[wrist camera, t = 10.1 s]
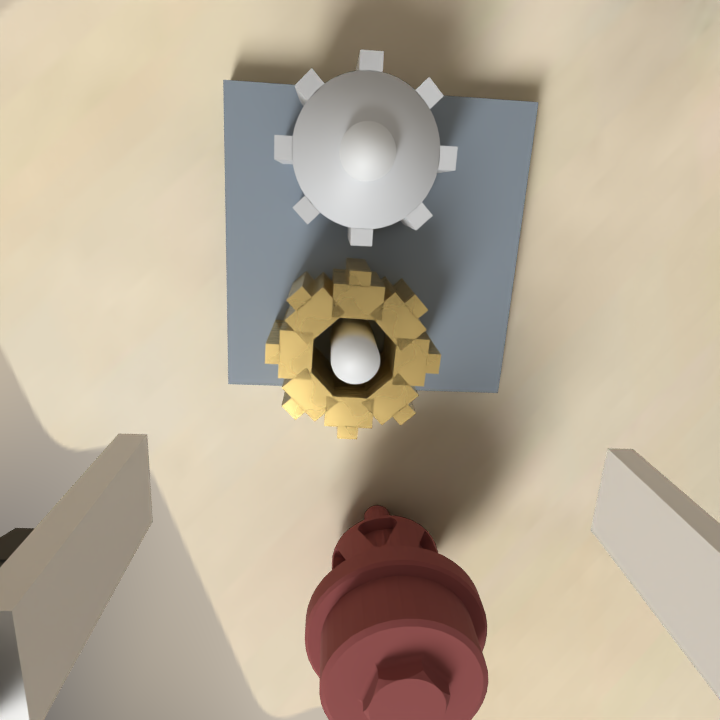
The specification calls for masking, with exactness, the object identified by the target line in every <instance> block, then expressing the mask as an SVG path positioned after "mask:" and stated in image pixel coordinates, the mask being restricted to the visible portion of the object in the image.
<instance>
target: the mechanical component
mask: <svg viewBox="0 0 720 720" xmlns="http://www.w3.org/2000/svg"><path fill="white" fill-rule="evenodd" d="M486 636H487V620H486V614H485V611H484V608H483V605H482V602H481V600H480V597H479V594H478V592H477V589H476V587H475V585H474V583H473V582H472V580H471V579H470V577H469V576H468V575H467V574H466V573H465V571H464V570H463V569H462V568H461V567H459V566H458V565H457V564H456V563H454V562H453V561H452V560H450V559H448V558H446V557H445V556H443V555H441V554H438V551H437V547H436V544H435V542H434V540H433V538H432V537H431V535H430V534H429V533H428V532H427V530H426V529H424V528H423V527H422V526H421V525H419V524H418V523H416V522H414V521H412V520H410V519H407V518H404V517H399V516H390V515H389V512H388V510H387V509H386V508H384V507H383V506H379V505H377V506H372V507H370V508H369V509H368V510H367V511H366V512H365V516H364V520H363V521H361V522H359V523H357V524H356V525H354V526H352V527H351V528H350V529H349V530H348V531H346V532H345V533H344V534H343V536H342V537H341V538H340V540H339V541H338V543H337V545H336V547H335V549H334V553H333V557H332V571H331V572H329V573H328V574H327V575H326V576H325V577H324V578H323V580H322V581H321V582H320V584H319V585H318V586H317V588H316V590H315V591H314V593H313V595H312V597H311V600H310V602H309V605H308V609H307V614H306V627H305V646H306V652H307V655H308V659H309V661H310V663H311V665H312V667H313V669H314V671H315V672H316V674H317V675H318V676H319V678H320V699H321V704H322V707H323V710H324V712H325V714H326V715H327V717H328V719H329V720H471V719H472V718H473V717H474V715H475V714H476V713H477V712H478V710H479V708H480V707H481V705H482V703H483V701H484V698H485V695H486V692H487V687H488V670H487V666H486V662H485V659H484V656H483V653H482V651H483V648H484V646H485V641H486Z"/></svg>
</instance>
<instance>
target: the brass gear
mask: <svg viewBox="0 0 720 720" xmlns="http://www.w3.org/2000/svg"><path fill="white" fill-rule="evenodd" d="M286 301H287V302H288V303H289V304H290V306H289V308H287V311H286V314H285V317H284V320H275V322H274V324H273V327H272V329H271V332H270V334H269V336H268V339H267V341H266V346H265V364H279V365H278V378H284V381H283V385H282V389H283V390H284V391H285V393H284V398H283V403H282V407H283V408H284V409H285V410H286V411H287V412H288V413H289V414H290V415H291V416H292V417H293V418H294V419H295V420H296V419H297V418H298V417H300V416H301V415H302V414H303V413H305V412H306V413H307V414H308V415H309V416H310V417H311V418H312V419H313V420H314V421H316V420H317V419H318V418H320V417H321V416H322V415H323V414H325V416H324V426H336V427H337V438H341V439H357V433H358V428H372V421H373V416H374V417H375V418H376V419H377V420H378V421H379V423H380V424H381V425H383V424H384V423H385V422H386V421H388V420H389V419H390V418H391V417H393V418H394V419H395V420H396V421H397V422H398V423H399V424H400V425H402V424H403V423H404V422H406V421H407V420H408V419H409V418H411V417H412V416H413V415H415V414H416V412H415V409H414V407H413V404H412V402H411V401H413V400H414V399H415V398H416V397H418V396H419V395H418V393H417V390H416V388H415V386H423V387H424V383H425V375H426V373H430V374H439V367H440V360H441V354H440V352H439V351H438V349H437V348H436V346H435V345H434V343H433V342H432V340H431V339H430V338H429V336H428V335H427V333H426V332H425V331H426V330H427V329H426V328H425V327H424V325H423V324H422V322H421V321H420V319H419V318H420V317H421V316H422V315H423V314H424V313H426V312H427V311H428V309H427V308H426V307H425V305H424V304H423V303H422V302H421V301H420V299H419V298H418V297H417V296H416V295H415V293H414V292H413V291H412V290H411V289H410V287H409V286H408V285H407V284H406V282H405V281H404V280H403V279H402V278H401V279H400V280H399V281H398V282H396V283H395V284H394V285H392V284H391V283H390V282H389V281H388V279H387V278H386V277H385V276H384V277H383V278H382V279H380V277H379V276H378V274H377V272H373V271H371V270H370V268H369V266H368V264H367V262H366V261H365V259H358V258H347V259H346V269H333V277H332V280H331V279H330V278H329V277H328V276H327V275H326V274H325V272H323V273H322V274H321V275H319V276H318V277H317V278H316V279H315V280H314V279H313V278H312V277H311V276H310V275H309V273H308V272H307V271H306V272H305V273H303V274H302V275H301V276H300V277H299V278H298V279H297V280H296V281H294V282H293V284H292V286H291V289H290V292H289V294H288V297H287V300H286ZM339 318H351V319H366V320H375V321H376V323H377V324H378V325H379V326H380V327H381V328H382V329H383V331H384V332H385V335H384V345H383V350H382V351H380V352H379V355H380V366H379V369H378V371H377V373H376V374H375V375H374V376H373V377H372V378H371V379H370V380H368V381H367V382H364V383H361V384H349V383H346V382H344V381H342V380H340V379H339V378H338V377H337V376H336V375H335V373H334V372H333V369H332V366H331V363H330V362H329V361H328V359H327V358H326V357H325V356H324V355H323V354H322V353H321V352H320V351H319V350H318V349H317V348H316V346H315V345H314V339H315V338H316V337H317V336H319V335H320V334H321V333H322V332H323V331H324V330H326V329H327V328H328V327H329V326H330V325H332V324H333V323H334V322H335V321H336V320H337V319H339Z"/></svg>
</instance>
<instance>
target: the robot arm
mask: <svg viewBox="0 0 720 720" xmlns="http://www.w3.org/2000/svg"><path fill="white" fill-rule="evenodd" d="M152 522H153V517H152V502H151V486H150V470H149V455H148V439H147V435H145V434H118V435H117V436H116V437H115V439H114V440H113V441H112V442H111V443H110V444H109V445H108V446H107V448H106V449H105V450H104V451H103V452H102V453H101V455H100V456H99V457H98V458H97V459H96V460H95V461H94V462H93V463H92V465H91V466H90V467H89V468H88V469H87V470H86V471H85V473H84V474H83V475H82V476H81V477H80V478H79V479H78V480H77V482H76V483H75V484H74V485H73V486H72V487H71V488H70V489H69V490H68V492H67V493H66V494H65V495H64V496H63V497H62V498H61V499H60V501H59V502H58V503H57V504H56V505H55V506H54V507H53V509H52V510H51V511H50V512H49V513H48V514H47V515H46V516H45V517H44V519H43V520H42V521H41V522H40V523H39V524H38V525H37V526H36V528H32V529H31V528H15V529H13V530H12V531H10V532H8V533H7V534H5V535H3V536H2V537H0V720H44V719H45V717H46V715H47V713H48V711H49V709H50V708H51V706H52V704H53V702H54V700H55V699H56V697H57V695H58V693H59V691H60V689H61V688H62V686H63V684H64V682H65V680H66V678H67V677H68V675H69V673H70V671H71V669H72V668H73V666H74V664H75V662H76V660H77V658H78V657H79V655H80V653H81V651H82V649H83V647H84V646H85V644H86V642H87V640H88V638H89V637H90V635H91V633H92V631H93V629H94V627H95V626H96V624H97V622H98V620H99V618H100V616H101V615H102V613H103V611H104V609H105V607H106V605H107V604H108V602H109V600H110V598H111V596H112V595H113V593H114V591H115V589H116V587H117V585H118V584H119V582H120V580H121V578H122V576H123V574H124V573H125V571H126V569H127V567H128V565H129V564H130V562H131V560H132V558H133V556H134V554H135V553H136V551H137V549H138V547H139V545H140V543H141V542H142V540H143V538H144V536H145V534H146V533H147V531H148V529H149V527H150V525H151V523H152ZM591 531H592V533H593V534H594V535H595V537H596V538H597V539H598V541H599V542H600V543H601V544H602V546H603V547H604V548H605V550H606V551H607V552H608V554H609V555H610V556H611V558H612V559H613V560H614V562H615V563H616V564H617V566H618V567H619V568H620V569H621V571H622V572H623V573H624V575H625V576H626V577H627V579H628V580H629V581H630V583H631V584H632V585H633V587H634V588H635V589H636V590H637V592H638V593H639V594H640V596H641V597H642V598H643V600H644V601H645V602H646V604H647V605H648V606H649V608H650V609H651V610H652V612H653V613H654V614H655V615H656V617H657V618H658V619H659V621H660V622H661V623H662V625H663V626H664V627H665V629H666V630H667V631H668V633H669V634H670V635H671V636H672V638H673V639H674V640H675V642H676V643H677V644H678V646H679V647H680V648H681V650H682V651H683V652H684V654H685V655H686V656H687V658H688V659H689V660H690V661H691V663H692V664H693V665H694V667H695V668H696V669H697V671H698V672H699V673H700V675H701V676H702V677H703V679H704V680H705V681H706V683H707V684H708V685H709V686H710V688H711V689H712V690H713V692H714V693H715V694H716V696H717V697H718V698H719V700H720V523H718V522H717V521H716V520H715V519H714V518H713V517H711V516H710V515H709V514H708V513H707V512H706V511H704V510H703V509H702V508H701V507H700V506H699V505H697V504H696V503H695V502H694V501H693V500H692V499H690V498H689V497H688V496H687V495H686V494H685V493H683V492H682V491H681V490H680V489H679V488H678V487H676V486H675V485H674V484H673V483H672V482H671V481H669V480H668V479H667V478H666V477H665V476H664V475H662V474H661V473H660V472H659V471H658V470H657V469H656V468H654V467H653V466H652V465H651V464H650V463H649V462H647V461H646V460H645V459H644V458H643V457H642V456H640V455H639V454H638V453H637V452H636V451H635V450H633V449H607V454H606V459H605V464H604V469H603V473H602V478H601V483H600V488H599V493H598V497H597V502H596V507H595V512H594V517H593V522H592V526H591Z"/></svg>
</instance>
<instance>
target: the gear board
mask: <svg viewBox="0 0 720 720" xmlns="http://www.w3.org/2000/svg"><path fill="white" fill-rule="evenodd" d="M383 59H384V51H374V50H361V49H360V53H359V57H358V62H357V66H356V71H352V72H348V73H345V74H341V75H339V76H337V77H335V78H333V79H331V80H329V81H328V82H326V83H325V84H324V82H323V81H322V80H321V79H320V77H319V76H318V75H317V74H316V73H315V71H314V70H313V69H312V68H311V69H310V70H309V71H308V72H307V73H306V74H305V75H304V76H303V77H302V78H301V79H300V80H299V81H298V82H297V83H296V84H295V85H289V84H275V83H261V82H247V81H233V80H223V87H224V146H225V206H226V265H227V325H228V384H244V385H275V386H282V385H283V381H284V378H278V365H279V364H265V346H266V341H267V339H268V336H269V334H270V332H271V329H272V327H273V324H274V322H275V320H284V317H285V314H286V311H287V308H289V306H290V304H289V303H288V302H287V301H286V300H287V297H288V294H289V292H290V289H291V286H292V284H293V282H294V281H296V280H297V279H298V278H299V277H300V276H301V275H302V274H303V273H305V272H306V271H307V272H308V273H309V275H310V276H311V277H312V278H313V279H314V280H315V279H316V278H317V277H318V276H319V275H321V274H322V273H323V272H325V274H326V275H327V276H328V277H329V278H330V279H331V280H332V277H333V269H346V259H347V258H358V259H365V261H366V262H367V264H368V266H369V268H370V270H371V271H373V272H377V274H378V276H379V277H380V279H382V278H383V277H384V276H385V277H386V278H387V279H388V281H389V282H390V283H391V284H392V285H394V284H395V283H396V282H398V281H399V280H400V279H401V278H402V279H403V280H404V281H405V282H406V284H407V285H408V286H409V287H410V289H411V290H412V291H413V292H414V293H415V295H416V296H417V297H418V298H419V299H420V301H421V302H422V303H423V304H424V305H425V307H426V308H427V309H428V311H427V312H426V313H424V314H423V315H422V316H421V317H420V318H419V319H420V321H421V322H422V324H423V325H424V327H425V328H426V329H427V330H426V331H425V332H426V333H427V335H428V336H429V338H430V339H431V340H432V342H433V343H434V345H435V346H436V348H437V349H438V351H439V352H440V354H441V360H440V367H439V374H430V373H426V375H425V383H424V387H423V386H415V388H416V390H425V391H456V392H486V393H498V388H499V381H500V374H501V367H502V360H503V353H504V345H505V338H506V331H507V324H508V317H509V310H510V302H511V295H512V288H513V281H514V274H515V267H516V259H517V252H518V245H519V238H520V231H521V224H522V216H523V209H524V202H525V195H526V188H527V180H528V173H529V166H530V159H531V152H532V145H533V137H534V130H535V123H536V116H537V109H538V102H527V101H513V100H499V99H485V98H471V97H457V96H444V95H443V94H442V93H441V91H440V90H439V89H438V88H437V86H436V85H435V84H434V82H433V81H432V80H431V78H430V77H428V78H427V79H426V80H425V81H424V82H423V83H422V84H421V85H420V86H419V87H418V88H417V89H416V90H415V89H413V88H412V87H411V86H410V85H409V84H407V83H406V82H404V81H403V80H401V79H399V78H397V77H395V76H393V75H391V74H387V73H384V72H383ZM384 335H385V332H384V331H383V329H382V328H381V327H380V326H379V325H378V324H377V323H376V321H375V320H366V319H351V318H339V319H337V320H336V321H335V322H334V323H333V324H332V325H330V326H329V327H328V328H327V329H326V330H324V331H323V332H322V333H321V334H320V335H319V336H317V337H316V338H315V339H314V345H315V346H316V348H317V349H318V350H319V351H320V352H321V353H322V354H323V355H324V356H325V357H326V358H327V359H328V361H329V362H330V363H331V366H332V369H333V372H334V373H335V375H336V376H337V377H338V378H339V379H340V380H342V381H344V382H346V383H349V384H361V383H364V382H367V381H368V380H370V379H371V378H372V377H373V376H374V375H375V374H376V373H377V371H378V369H379V366H380V355H379V352H380V351H382V350H383V345H384Z"/></svg>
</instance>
